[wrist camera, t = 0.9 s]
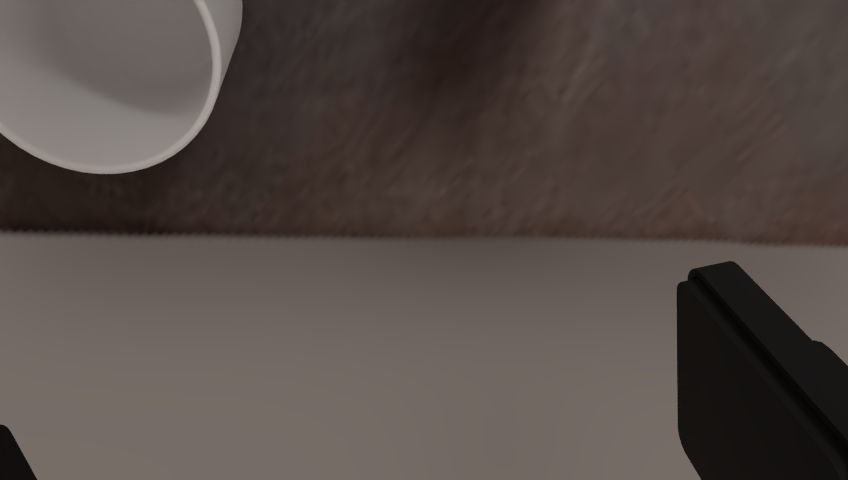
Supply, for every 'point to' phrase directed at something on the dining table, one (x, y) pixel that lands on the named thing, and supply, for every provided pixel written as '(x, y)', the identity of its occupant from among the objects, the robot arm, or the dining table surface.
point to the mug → (111, 77)
